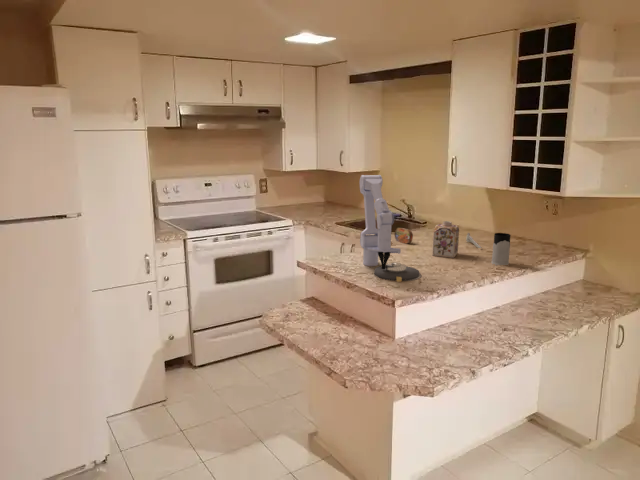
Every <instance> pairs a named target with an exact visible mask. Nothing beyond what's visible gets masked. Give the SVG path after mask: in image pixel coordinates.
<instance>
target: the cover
mask: <svg viewBox="0 0 640 480" xmlns="http://www.w3.org/2000/svg"><path fill="white" fill-rule="evenodd" d="M406 266H407V265H406V264H404V263H401V262H398V261H397V262H395V261H394V262H391V263H386V271H387V272H389V273H395V274H400V273H405V272H406Z"/></svg>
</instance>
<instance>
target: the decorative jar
mask: <svg viewBox="0 0 640 480" xmlns="http://www.w3.org/2000/svg"><path fill="white" fill-rule="evenodd" d="M432 232H433V239H432V253H431V254H432V257H439V258H440V257H443V258H451V259H454V258H455V257H456V256H457V255H458V252H459V239H460V236H459V235H460V227H459V226H458V225H456V224H453V223H452V221H447V220H446V221H445V220H444V221H442V223H439V224H436V225H435V227H434V229H433V231H432Z"/></svg>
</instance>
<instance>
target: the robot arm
mask: <svg viewBox="0 0 640 480" xmlns="http://www.w3.org/2000/svg"><path fill="white" fill-rule="evenodd" d="M358 184H359V191H360V194H362V197H363V204H364V205H363V206H364V217H365V219H364V221H365V222H364V223H365V229H363V230H362V231H361V232H360V238H359V244H360V247H361V248H362V249H363V256H362V257H363V258H362V259H363V262H362V265H364V266H368V267H373V266H379V261H380V264H381V265H380V266H382V269H385V266H386V264H388V260H389V258H390V257H391V254H399V255H400V254H402V250H401V248H396V247H391V246H392V226H393V224H394V223H395V215H394V213H393V211H392V210H390V209H389V206H388V203H387V200H386V199H385V198H384V197H383V194H382V193H383V192H382V187H383V184H384V183H383V177H382V175H381V174H374V175H370V174H369V175H368V174H365V175H364V174H361V175H360V178H359V183H358Z"/></svg>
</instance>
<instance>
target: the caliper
mask: <svg viewBox="0 0 640 480" xmlns="http://www.w3.org/2000/svg"><path fill="white" fill-rule="evenodd" d="M465 237H466V238H465V239H466V240H465V242H466V241H467V242H469V243H472V244H473V245H474V246H475V247H476V248H477V247H478V248H482V247H481V245H480V244H478V243H477V241H475V240H474V238H473V236H471V234H470V232H467V234H466V236H465ZM467 242H466V243H467ZM478 248H477V249H478Z"/></svg>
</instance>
